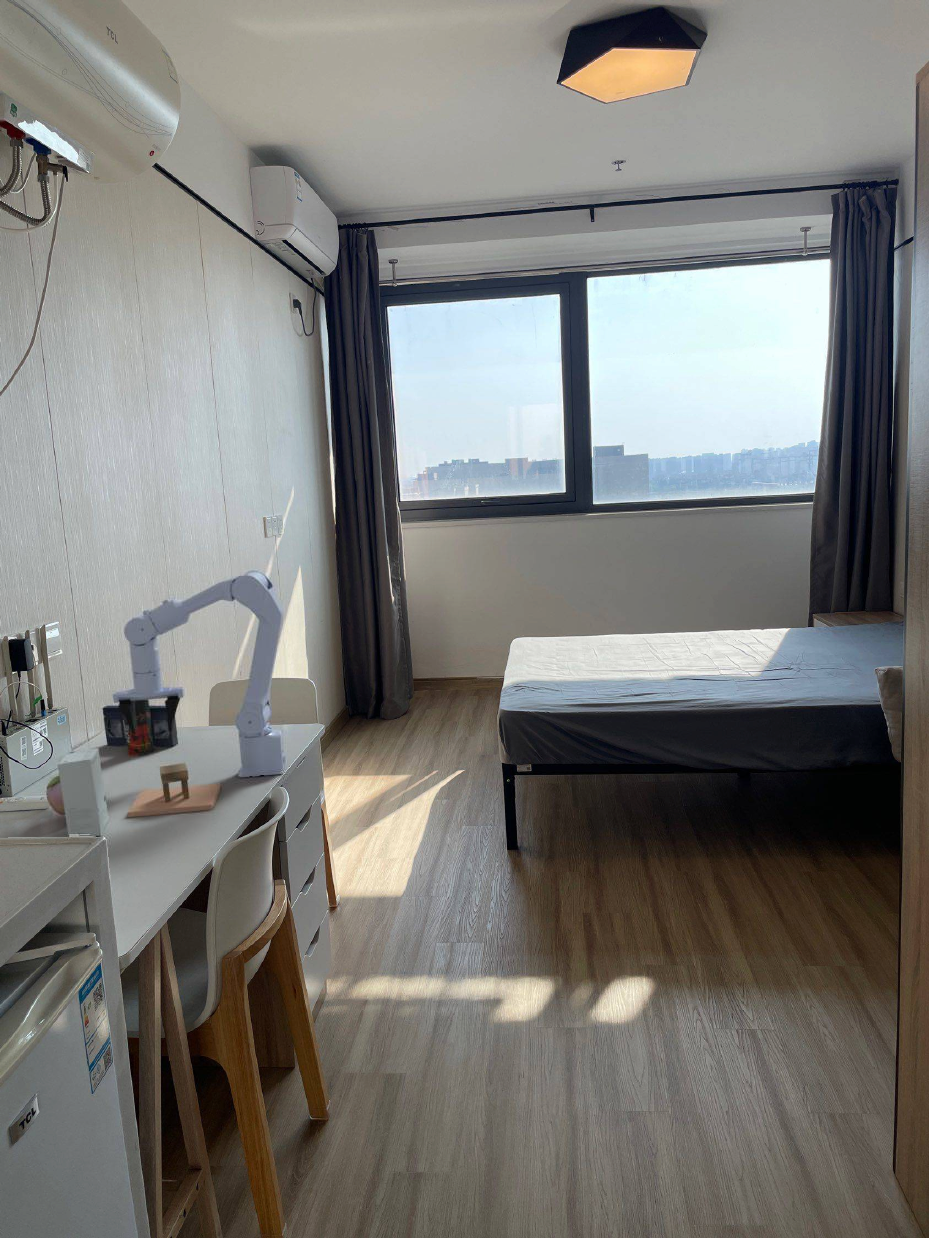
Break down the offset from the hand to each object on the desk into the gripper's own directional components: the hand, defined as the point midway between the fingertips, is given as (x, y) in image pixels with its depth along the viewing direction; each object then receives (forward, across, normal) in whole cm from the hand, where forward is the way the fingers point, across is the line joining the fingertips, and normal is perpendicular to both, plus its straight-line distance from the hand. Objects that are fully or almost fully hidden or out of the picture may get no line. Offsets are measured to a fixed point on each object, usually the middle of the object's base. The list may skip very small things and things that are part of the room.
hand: (153, 731), depth 190 cm
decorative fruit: (+11, +12, +20) cm, 26 cm away
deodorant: (+11, +8, -20) cm, 24 cm away
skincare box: (+11, +7, +28) cm, 31 cm away
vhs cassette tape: (+11, +9, -26) cm, 30 cm away
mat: (+10, -7, +17) cm, 21 cm away
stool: (+9, -7, +17) cm, 20 cm away
